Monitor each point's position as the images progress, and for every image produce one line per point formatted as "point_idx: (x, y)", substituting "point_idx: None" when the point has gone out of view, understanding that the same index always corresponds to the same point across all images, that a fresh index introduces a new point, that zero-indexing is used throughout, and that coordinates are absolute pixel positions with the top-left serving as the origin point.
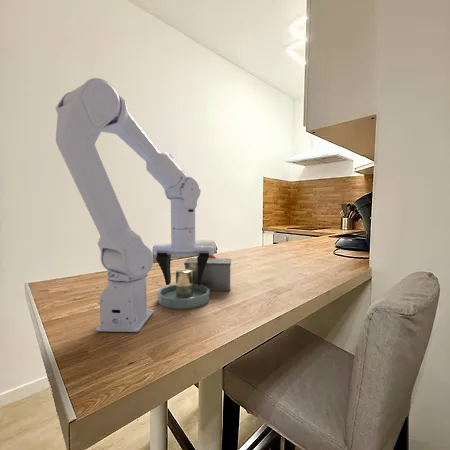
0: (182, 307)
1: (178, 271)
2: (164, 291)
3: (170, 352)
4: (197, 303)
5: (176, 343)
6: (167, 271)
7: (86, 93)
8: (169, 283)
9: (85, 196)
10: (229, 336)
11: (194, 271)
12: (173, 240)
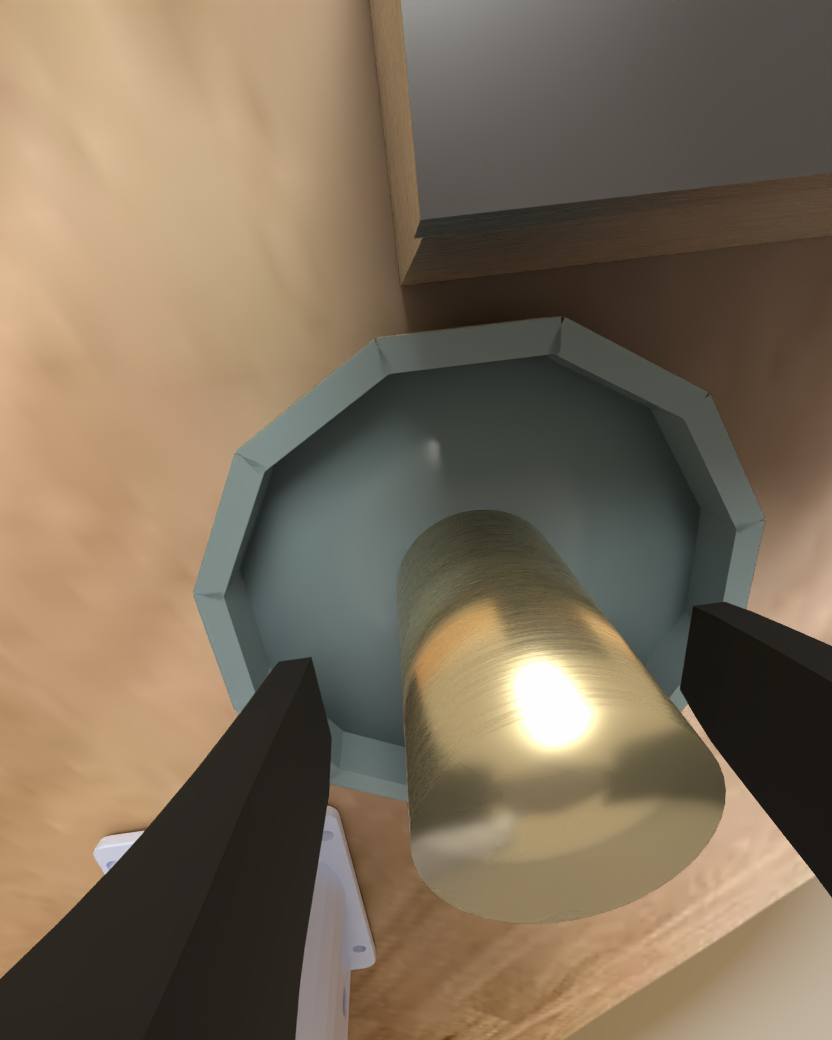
0: None
1: (466, 860)
2: (239, 562)
3: (548, 993)
4: None
5: (556, 961)
6: (294, 957)
7: None
8: (323, 711)
9: None
10: (758, 896)
11: (661, 211)
12: None
